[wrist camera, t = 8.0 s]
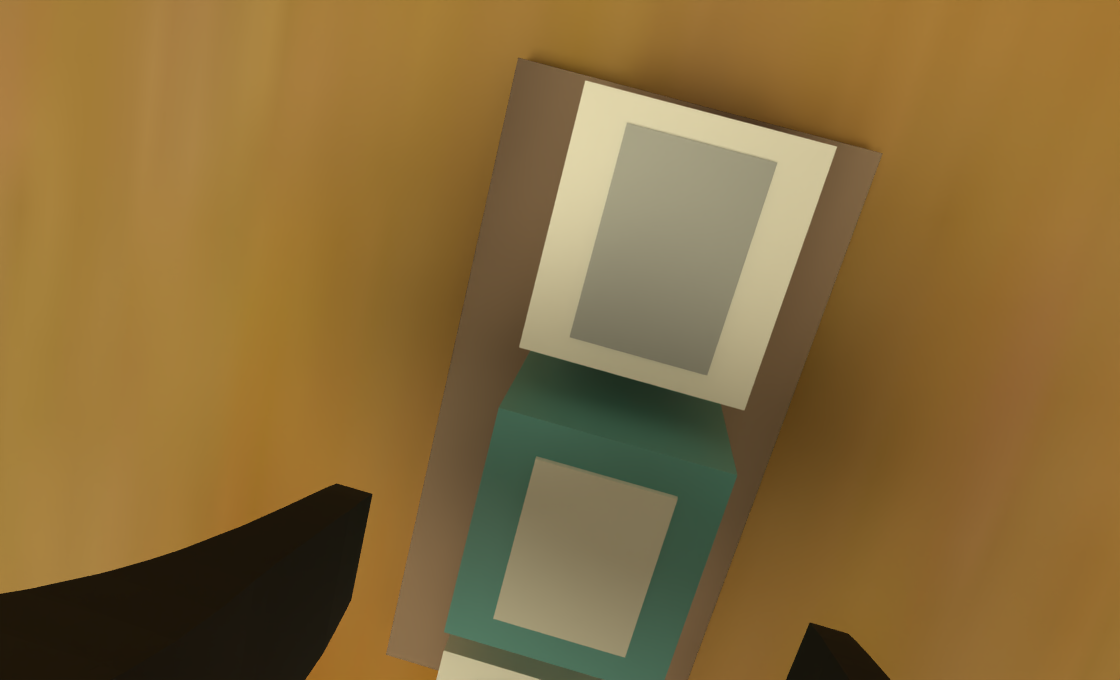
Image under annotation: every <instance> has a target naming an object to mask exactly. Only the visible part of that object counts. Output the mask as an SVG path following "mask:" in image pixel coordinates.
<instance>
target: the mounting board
mask: <svg viewBox="0 0 1120 680" xmlns="http://www.w3.org/2000/svg"><path fill="white" fill-rule="evenodd" d="M585 80H586V81H589V82H593V83H597V84H601V85H605V86H608V87H612V88H616V89H620V90H624V91H627V92H631V93H635V94H639V95H643V96H646V97H650V98H654V99H658V100H662V101H665V102H669V103H673V104H677V105H681V106H684V107H688V108H692V109H696V110H700V111H703V112H707V113H711V114H715V115H719V116H722V117H726V118H730V119H734V120H738V121H741V122H745V123H749V124H753V125H757V126H760V127H764V128H768V129H772V130H776V131H779V132H783V133H787V134H791V135H795V136H798V137H802V138H806V139H810V140H814V141H817V142H821V143H825V144H829V145H833V146H836V147H837V149H836V151H835V154H834V157H833V160H832V163H831V166H830V168H829V171H828V174H827V177H826V180H825V183H824V186H823V188H822V191H821V194H820V197H819V200H818V203H817V205H816V208H815V211H814V214H813V217H812V220H811V222H810V225H809V228H808V231H807V234H806V237H805V240H804V242H803V245H802V248H801V251H800V254H799V257H798V259H797V262H796V265H795V268H794V271H793V274H792V276H791V279H790V282H789V285H788V288H787V291H786V294H785V296H784V299H783V302H782V305H781V308H780V311H779V313H778V316H777V319H776V322H775V325H774V328H773V331H772V333H771V336H770V339H769V342H768V345H767V348H766V350H765V353H764V356H763V359H762V362H761V365H760V367H759V370H758V373H757V376H756V379H755V382H754V385H753V387H752V390H751V393H750V396H749V399H748V402H747V404H746V407H745V410H741V409H737V408H733V407H730V406H726V405H723V404H721V408H722V412H723V416H724V420H725V425H726V429H727V433H728V437H729V442H730V446H731V450H732V454H733V459H734V463H735V467H736V471H737V478H736V481H735V483H734V486H733V489H732V492H731V495H730V497H729V500H728V503H727V506H726V509H725V512H724V514H723V517H722V520H721V523H720V526H719V528H718V531H717V534H716V537H715V540H714V542H713V545H712V548H711V551H710V554H709V556H708V559H707V562H706V565H705V568H704V570H703V573H702V576H701V579H700V582H699V585H698V587H697V590H696V593H695V596H694V599H693V601H692V604H691V607H690V610H689V613H688V615H687V618H686V621H685V624H684V627H683V629H682V632H681V635H680V638H679V641H678V644H677V646H676V649H675V652H674V655H673V658H672V660H671V663H670V666H669V669H668V672H667V674H666V677H665V680H688V678H689V675H690V672H691V670H692V667H693V664H694V662H695V659H696V656H697V653H698V651H699V648H700V645H701V643H702V640H703V637H704V635H705V632H706V629H707V626H708V624H709V621H710V618H711V616H712V613H713V610H714V607H715V605H716V602H717V599H718V597H719V594H720V591H721V589H722V586H723V583H724V580H725V578H726V575H727V572H728V570H729V567H730V564H731V562H732V559H733V556H734V553H735V551H736V548H737V545H738V543H739V540H740V537H741V535H742V532H743V529H744V526H745V524H746V521H747V518H748V516H749V513H750V510H751V508H752V505H753V502H754V499H755V497H756V494H757V491H758V489H759V486H760V483H761V481H762V478H763V475H764V472H765V470H766V467H767V464H768V462H769V459H770V456H771V453H772V451H773V448H774V445H775V443H776V440H777V437H778V435H779V432H780V429H781V426H782V424H783V421H784V418H785V416H786V413H787V410H788V408H789V405H790V402H791V399H792V397H793V394H794V391H795V389H796V386H797V383H798V381H799V378H800V375H801V372H802V370H803V367H804V364H805V362H806V359H807V356H808V354H809V351H810V348H811V345H812V343H813V340H814V337H815V335H816V332H817V329H818V326H819V324H820V321H821V318H822V316H823V313H824V310H825V308H826V305H827V302H828V299H829V297H830V294H831V291H832V289H833V286H834V283H835V281H836V278H837V275H838V272H839V270H840V267H841V264H842V262H843V259H844V256H845V254H846V251H847V248H848V245H849V243H850V240H851V237H852V235H853V232H854V229H855V227H856V224H857V221H858V218H859V216H860V213H861V210H862V208H863V205H864V202H865V199H866V197H867V194H868V191H869V189H870V186H871V183H872V181H873V178H874V175H875V172H876V170H877V167H878V164H879V162H880V159H881V156H882V154H883V153H879V152H875V151H871V150H868V149H864V148H860V147H856V146H852V145H849V144H845V143H841V142H837V141H833V140H830V139H826V138H822V137H818V136H814V135H811V134H807V133H803V132H799V131H795V130H792V129H788V128H784V127H780V126H776V125H773V124H769V123H765V122H761V121H757V120H753V119H750V118H746V117H742V116H738V115H734V114H731V113H727V112H723V111H719V110H715V109H712V108H708V107H704V106H700V105H696V104H693V103H689V102H685V101H681V100H677V99H674V98H670V97H666V96H662V95H658V94H655V93H651V92H647V91H643V90H639V89H636V88H632V87H628V86H624V85H620V84H617V83H613V82H609V81H605V80H601V79H597V78H594V77H590V76H586V75H582V74H578V73H575V72H571V71H567V70H563V69H559V68H556V67H552V66H548V65H544V64H540V63H537V62H533V61H529V60H525V59H521V58H518V61H517V66H516V70H515V75H514V79H513V84H512V88H511V93H510V97H509V102H508V106H507V111H506V115H505V120H504V124H503V129H502V133H501V138H500V142H499V147H498V151H497V156H496V160H495V165H494V169H493V174H492V179H491V183H490V188H489V192H488V197H487V201H486V206H485V210H484V215H483V219H482V224H481V228H480V233H479V237H478V242H477V246H476V251H475V255H474V260H473V264H472V269H471V273H470V278H469V282H468V287H467V291H466V296H465V300H464V305H463V309H462V314H461V319H460V323H459V328H458V332H457V337H456V341H455V346H454V350H453V355H452V359H451V364H450V368H449V373H448V377H447V382H446V386H445V391H444V395H443V400H442V404H441V409H440V413H439V418H438V422H437V427H436V431H435V436H434V440H433V445H432V449H431V454H430V458H429V463H428V468H427V472H426V477H425V481H424V486H423V490H422V495H421V499H420V504H419V508H418V513H417V517H416V522H415V526H414V531H413V535H412V540H411V544H410V549H409V553H408V558H407V562H406V567H405V571H404V576H403V580H402V585H401V589H400V594H399V598H398V603H397V607H396V612H395V617H394V621H393V626H392V630H391V635H390V639H389V644H388V648H387V653H386V655H389V656H392V657H396V658H399V659H402V660H406V661H409V662H412V663H416V664H419V665H422V666H426V667H429V668H432V669H435V670H439V667H440V663H441V659H442V655H443V651H444V648H445V646H446V643H447V641H448V638H449V636H450V634H449V633H445V632H444V630H445V626H446V622H447V618H448V613H449V609H450V605H451V601H452V597H453V593H454V589H455V585H456V581H457V577H458V572H459V568H460V564H461V560H462V556H463V552H464V548H465V544H466V540H467V536H468V531H469V527H470V523H471V519H472V515H473V511H474V507H475V503H476V499H477V495H478V490H479V486H480V482H481V478H482V474H483V470H484V466H485V462H486V458H487V453H488V449H489V445H490V441H491V437H492V433H493V429H494V425H495V421H496V417H497V412H498V408H499V406H500V404H501V403H502V401H503V399H504V397H505V395H506V394H507V392H508V390H509V388H510V386H511V385H512V383H513V381H514V379H515V377H516V376H517V374H518V372H519V370H520V368H521V367H522V365H523V363H524V361H525V359H526V358H527V356H528V354H529V352H530V350H527V349H523V348H520V347H519V345H520V341H521V337H522V333H523V329H524V325H525V321H526V317H527V313H528V309H529V305H530V301H531V297H532V293H533V289H534V285H535V281H536V277H537V273H538V269H539V265H540V261H541V257H542V253H543V249H544V245H545V241H546V237H547V233H548V229H549V225H550V221H551V217H552V213H553V209H554V205H555V200H556V196H557V192H558V188H559V184H560V180H561V176H562V172H563V168H564V164H565V160H566V156H567V152H568V148H569V144H570V140H571V136H572V132H573V128H574V124H575V120H576V116H577V112H578V108H579V104H580V100H581V96H582V92H583V88H584V84H585Z"/></svg>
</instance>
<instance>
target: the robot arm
mask: <svg viewBox="0 0 1120 680" xmlns="http://www.w3.org/2000/svg"><path fill="white" fill-rule="evenodd" d="M371 498H372V494H371V493H367V492H364V491H360V490H357V489H354V488H350V487H347V486H343V485H340V484H334V485H332V486H329V487H327V488H325V489H322V490H320V491H318V492H316V493H314V494H312V495H309V496H307V497H305V498H303V499H301V500H299V501H297V502H294V503H292V504H290V505H288V506H286V507H284V508H281V509H279V510H277V511H275V512H272V513H270V514H268V515H266V516H263V517H261V518H259V519H257V520H254V521H252V522H250V523H248V524H245V525H243V526H241V527H238V528H236V529H233V530H231V531H228V532H225V533H223V534H220V535H218V536H215V537H212V538H210V539H207V540H205V541H202V542H200V543H197V544H194V545H192V546H189V547H187V548H184V549H181V550H178V551H175V552H172V553H169V554H166V555H163V556H160V557H157V558H154V559H151V560H147V561H144V562H140V563H137V564H133V565H130V566H126V567H123V568H119V569H116V570H112V571H108V572H105V573H101V574H96V575H92V576H87V577H82V578H78V579H73V580H69V581H64V582H59V583H55V584H50V585H46V586H41V587H37V588H32V589H26V590H21V591H15V592H9V593H3V594H0V680H305V679H306V678H307V676H308V675H309V673H310V672H311V670H312V669H313V667H314V666H315V665H316V663H317V662H318V660H319V659H320V657H321V656H322V654H323V652H324V651H325V649H326V647H327V645H328V643H329V641H330V639H331V638H332V636H333V634H334V632H335V630H336V628H337V626H338V624H339V622H340V621H341V619H342V617H343V615H344V613H345V611H346V609H347V607H348V605H349V603H350V601H351V598H352V593H353V588H354V583H355V578H356V573H357V568H358V563H359V558H360V553H361V548H362V543H363V538H364V533H365V528H366V523H367V518H368V513H369V508H370V503H371ZM786 680H890V679H889V677H888V676H887V675H886V674H885V673H884V672H883V671H882V669H881V668H880V667H879V666H878V665H877V664H876V663H875V661H874V660H873V659H872V658H871V657H870V656H869V655H868V654H867V652H866V651H865V650H864V649H863V648H862V647H861V646H860V645H859V644H858V643H857V642H856V641H855V640H854V639H853V638H852V637H851V636H850V635H849V634H847V633H844V632H841V631H837V630H834V629H830V628H827V627H824V626H820V625H817V624H813V623H809V626H808V628H807V631H806V633H805V635H804V638H803V640H802V643H801V645H800V648H799V650H798V652H797V655H796V657H795V660H794V662H793V664H792V667H791V669H790V672H789V674H788V676H787V679H786Z"/></svg>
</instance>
